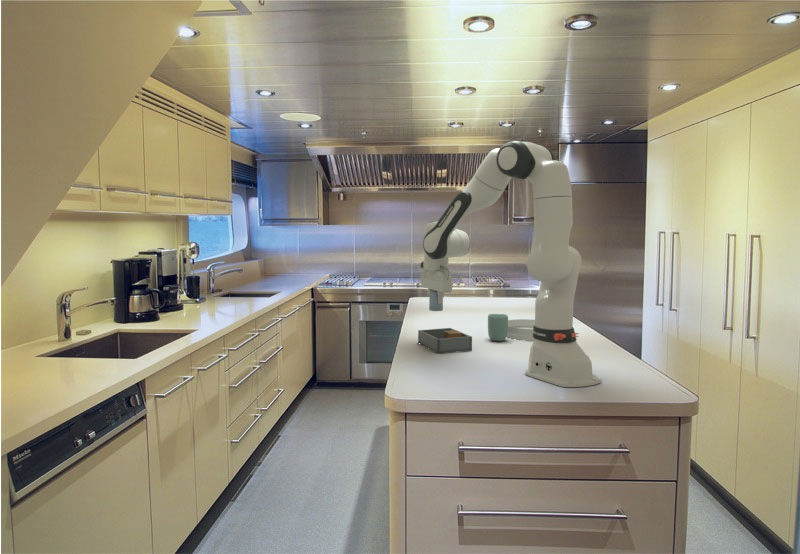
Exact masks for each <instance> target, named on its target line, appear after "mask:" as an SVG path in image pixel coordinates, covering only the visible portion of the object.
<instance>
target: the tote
mask: <svg viewBox="0 0 800 554" xmlns="http://www.w3.org/2000/svg"><path fill="white" fill-rule="evenodd" d="M451 330H455V329H454V328H451V327H443V328H432V329H431V328H430V329H420V330H417V333H418V334H417V337H418V338H417V340H418V343H417V344H419V343H420V344H419V345H421V346H423V347H424V346H425V348H426V347H427V349H428V348H429V350H430V351H432V352H434V353H436V354H437V353H438V354H445V353H446V352H449V353H457V352H456V351H459V352H467V351H466V350H470V351H472V350H473V336H472V335H469V334H467V333H464V332H462V337H456V338H444V331H451ZM446 354H447V353H446Z"/></svg>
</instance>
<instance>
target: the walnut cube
mask: <svg viewBox="0 0 800 554" xmlns="http://www.w3.org/2000/svg"><path fill="white" fill-rule="evenodd" d="M462 333H463V332H461V331H459V330H457V329H454V330H451V331H444V338H456V337H462Z"/></svg>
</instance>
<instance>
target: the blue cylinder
mask: <svg viewBox="0 0 800 554" xmlns="http://www.w3.org/2000/svg"><path fill="white" fill-rule="evenodd" d="M428 295H429V296H428V297H429V299H428V300H429V301H428V302H429V304H428V307H429V309H428V310H429V311H430V312H442V311H443V310H444V302H443V303H442V304H439V303H437V298H438V291H435V290H434V291H429V292H428Z"/></svg>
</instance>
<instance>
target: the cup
mask: <svg viewBox="0 0 800 554" xmlns="http://www.w3.org/2000/svg"><path fill="white" fill-rule="evenodd" d="M508 320H509V315H508V314H504V313H489V314H488V316H487V335H488V338H489V340H491V341H492V342H497V341H500V342H504V341H505V340H506V339H507V338H506V337H507V333H508Z"/></svg>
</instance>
